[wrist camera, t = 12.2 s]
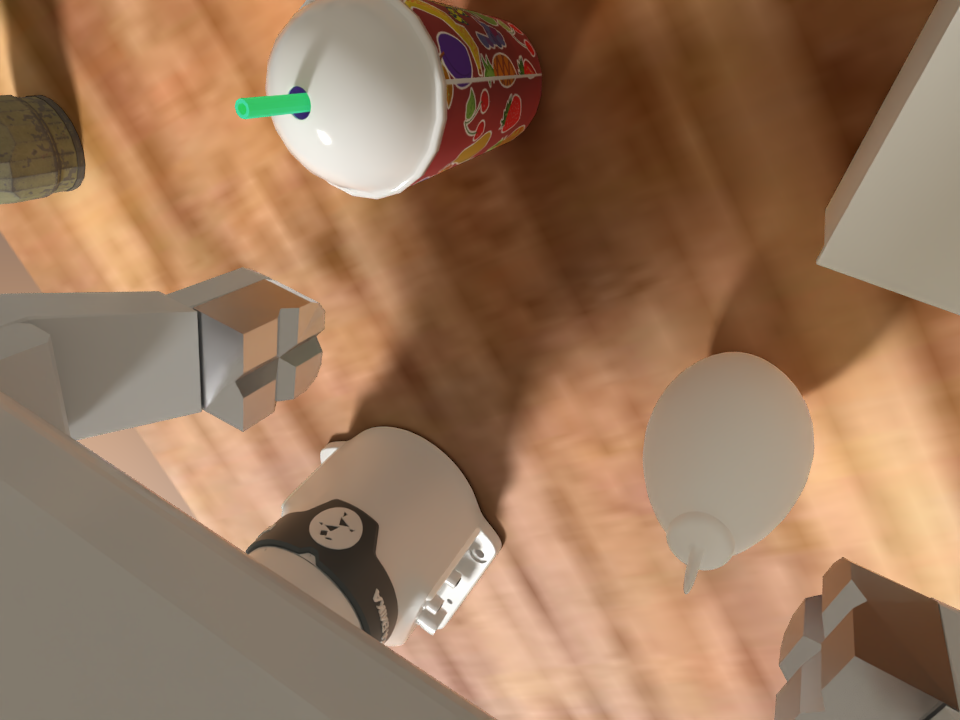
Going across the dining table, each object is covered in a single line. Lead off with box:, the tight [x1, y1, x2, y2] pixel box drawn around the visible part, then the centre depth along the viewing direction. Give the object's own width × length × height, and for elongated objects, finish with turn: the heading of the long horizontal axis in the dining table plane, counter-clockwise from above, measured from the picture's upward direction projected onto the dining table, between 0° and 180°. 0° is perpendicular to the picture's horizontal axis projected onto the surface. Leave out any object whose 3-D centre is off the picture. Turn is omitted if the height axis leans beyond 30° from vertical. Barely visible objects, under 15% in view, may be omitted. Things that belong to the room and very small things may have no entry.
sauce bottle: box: [643, 352, 814, 594], centre depth 30 cm, size 8×8×18 cm
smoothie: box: [235, 0, 542, 199], centre depth 29 cm, size 8×8×20 cm
